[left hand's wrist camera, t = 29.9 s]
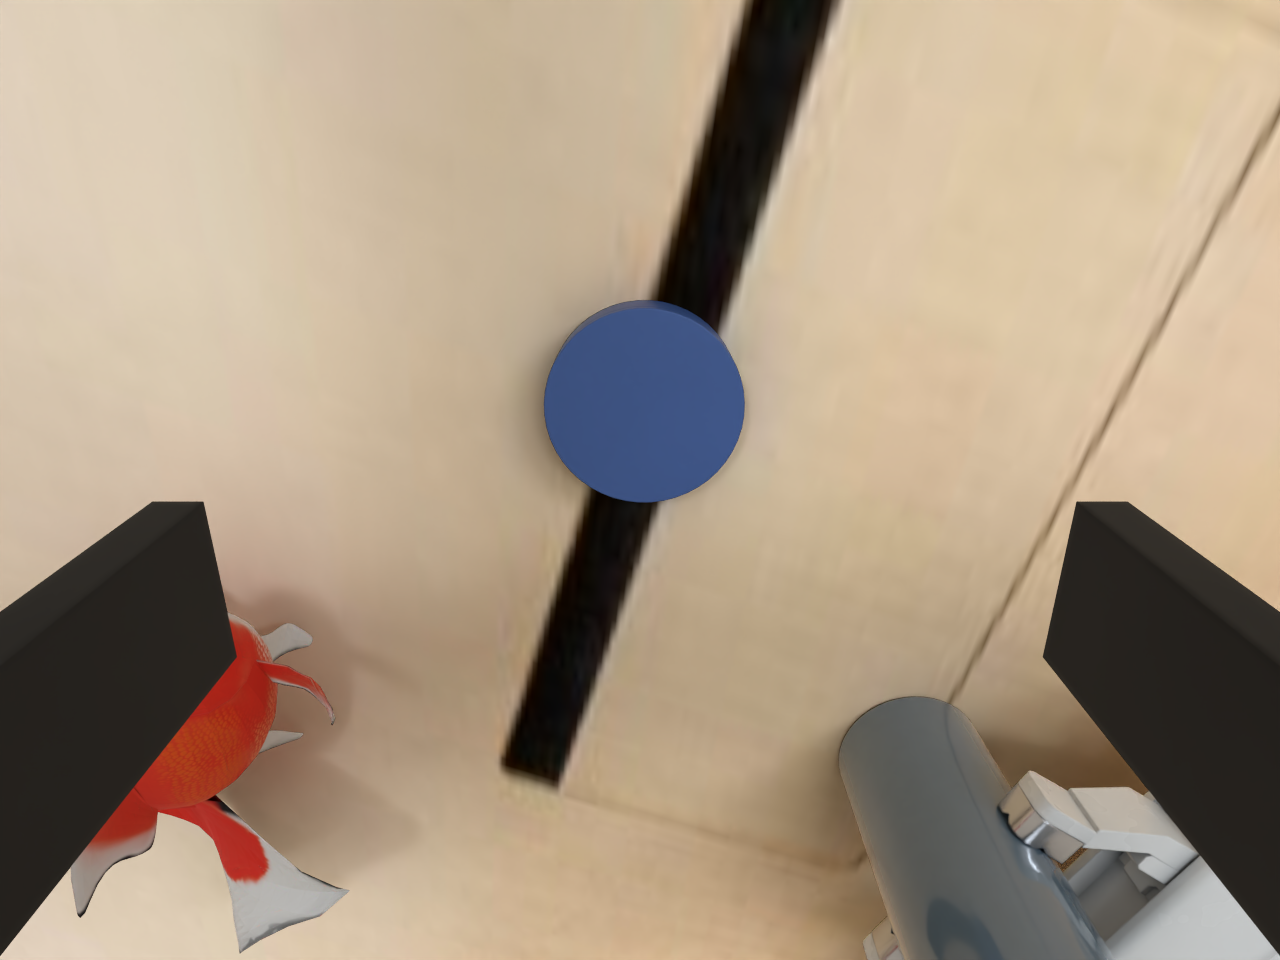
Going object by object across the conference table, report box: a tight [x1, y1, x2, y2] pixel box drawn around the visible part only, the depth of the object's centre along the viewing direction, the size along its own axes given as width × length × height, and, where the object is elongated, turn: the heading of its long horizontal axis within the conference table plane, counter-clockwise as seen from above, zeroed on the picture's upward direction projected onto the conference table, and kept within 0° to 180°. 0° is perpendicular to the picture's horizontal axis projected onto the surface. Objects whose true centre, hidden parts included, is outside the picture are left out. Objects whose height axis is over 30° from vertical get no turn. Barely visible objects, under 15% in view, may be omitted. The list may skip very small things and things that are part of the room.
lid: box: [544, 300, 745, 502], centre depth 26 cm, size 6×6×2 cm
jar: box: [839, 697, 1116, 960], centre depth 25 cm, size 5×5×15 cm
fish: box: [71, 612, 350, 953], centre depth 28 cm, size 11×16×10 cm
